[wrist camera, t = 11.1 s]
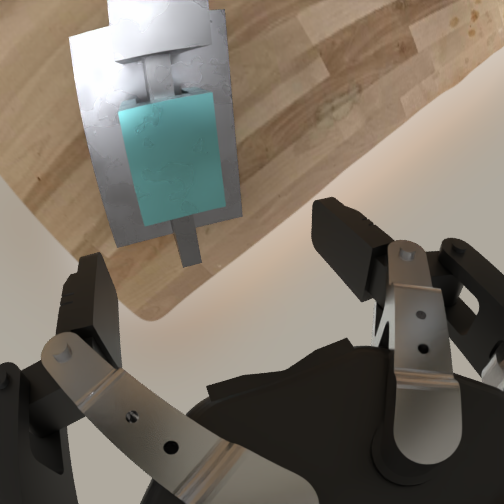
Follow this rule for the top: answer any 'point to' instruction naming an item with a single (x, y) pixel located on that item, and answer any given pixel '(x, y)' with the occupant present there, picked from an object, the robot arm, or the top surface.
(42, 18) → the top surface
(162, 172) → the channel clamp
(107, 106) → the stand
